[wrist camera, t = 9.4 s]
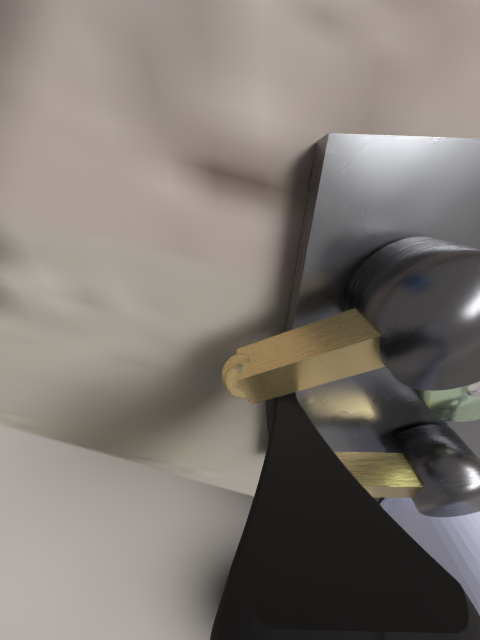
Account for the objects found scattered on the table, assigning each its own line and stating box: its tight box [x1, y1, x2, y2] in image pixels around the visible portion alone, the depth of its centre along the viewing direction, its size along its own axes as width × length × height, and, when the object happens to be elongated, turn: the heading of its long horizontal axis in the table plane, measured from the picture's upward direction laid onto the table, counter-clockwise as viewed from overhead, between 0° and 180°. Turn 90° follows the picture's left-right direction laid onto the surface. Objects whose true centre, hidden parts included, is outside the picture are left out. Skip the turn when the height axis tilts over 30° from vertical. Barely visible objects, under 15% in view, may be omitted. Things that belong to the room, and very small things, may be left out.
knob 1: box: [221, 237, 480, 404], centre depth 8 cm, size 10×4×3 cm, turn 114°
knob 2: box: [334, 424, 480, 517], centre depth 13 cm, size 10×4×3 cm, turn 88°
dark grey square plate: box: [266, 133, 480, 459], centre depth 12 cm, size 20×20×2 cm
